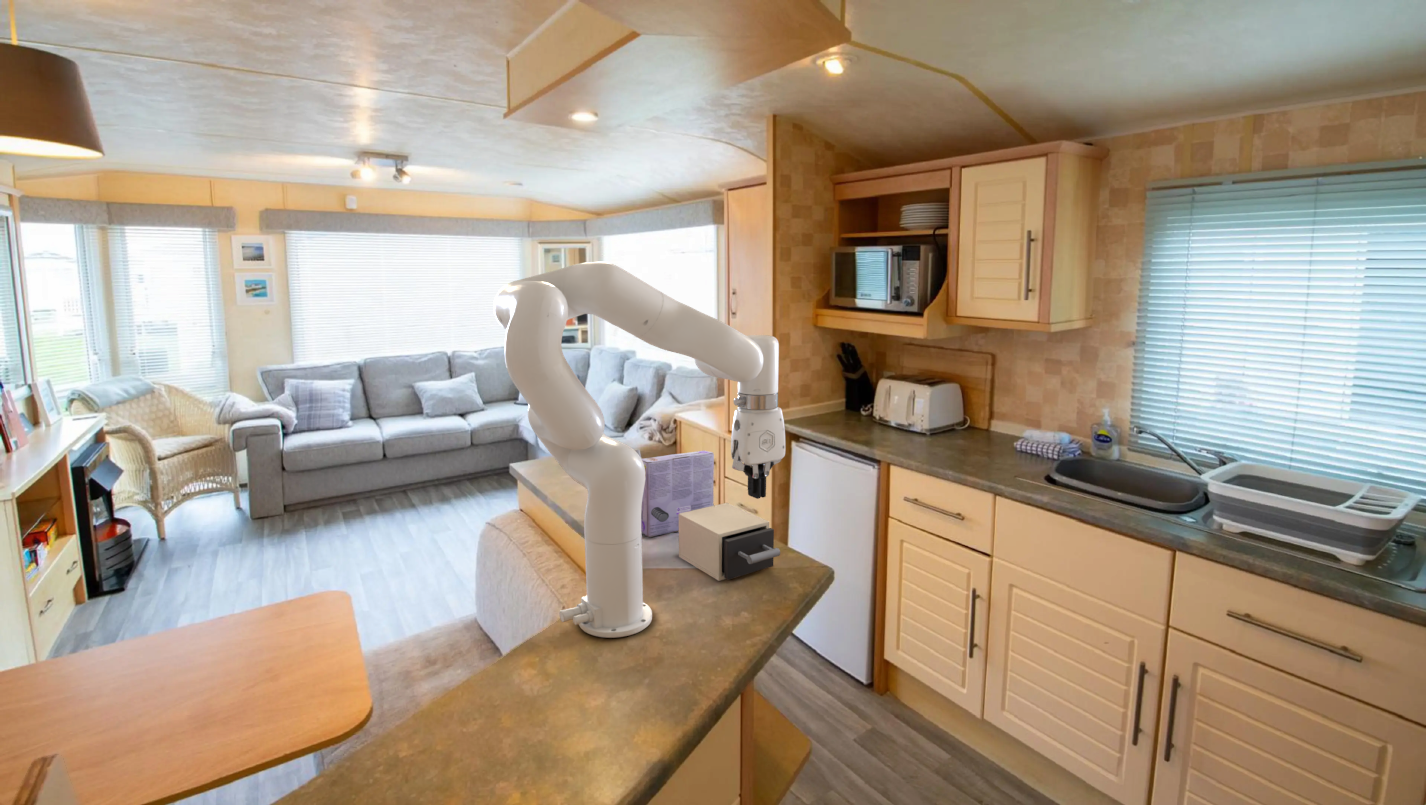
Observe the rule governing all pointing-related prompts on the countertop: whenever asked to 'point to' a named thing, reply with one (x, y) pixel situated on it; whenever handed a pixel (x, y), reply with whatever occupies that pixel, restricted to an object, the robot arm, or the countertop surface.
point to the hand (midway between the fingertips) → (756, 495)
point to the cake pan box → (675, 489)
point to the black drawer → (748, 552)
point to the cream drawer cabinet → (712, 534)
